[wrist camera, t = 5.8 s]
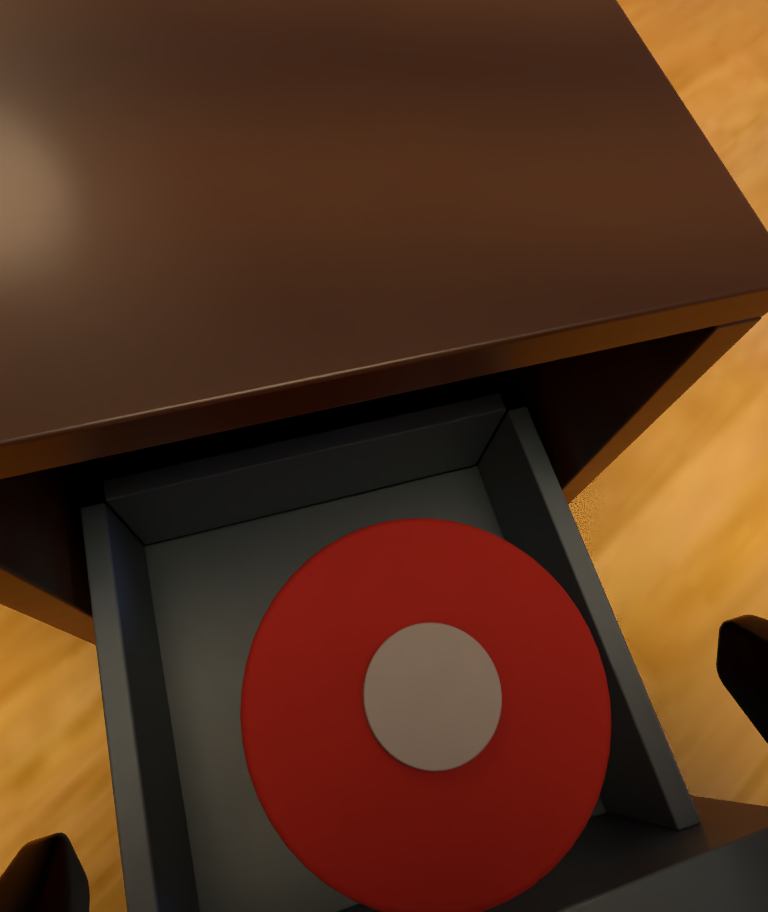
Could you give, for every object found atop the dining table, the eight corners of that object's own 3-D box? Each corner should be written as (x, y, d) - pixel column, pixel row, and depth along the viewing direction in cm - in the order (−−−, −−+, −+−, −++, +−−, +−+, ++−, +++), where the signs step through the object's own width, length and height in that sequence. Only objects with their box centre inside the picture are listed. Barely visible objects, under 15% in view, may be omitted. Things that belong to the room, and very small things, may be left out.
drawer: (724, 972, 14) (947, 1099, 9) (165, 1218, 12) (50, 1568, 7) (514, 448, 19) (584, 342, 14) (86, 551, 17) (-16, 469, 12)
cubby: (541, 530, 19) (802, 281, 9) (102, 649, 16) (-254, 497, 6) (432, 254, 22) (523, -146, 12) (63, 319, 20) (-199, -110, 10)
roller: (353, 873, 14) (394, 1040, 6) (244, 696, 15) (163, 647, 7) (506, 740, 15) (699, 738, 7) (395, 588, 16) (460, 450, 9)
